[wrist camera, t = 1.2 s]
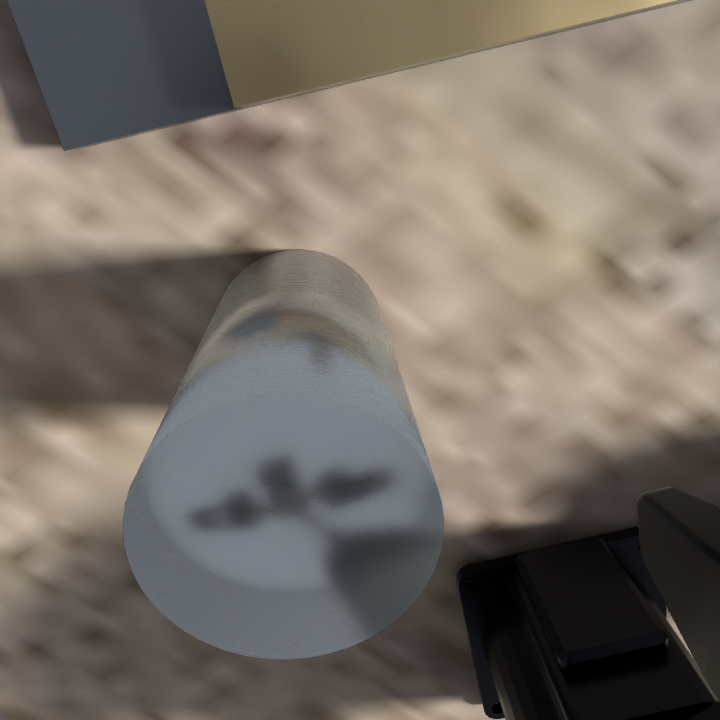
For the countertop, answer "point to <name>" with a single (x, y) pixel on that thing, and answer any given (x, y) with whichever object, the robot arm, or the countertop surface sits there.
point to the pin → (287, 472)
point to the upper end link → (375, 36)
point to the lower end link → (132, 65)
